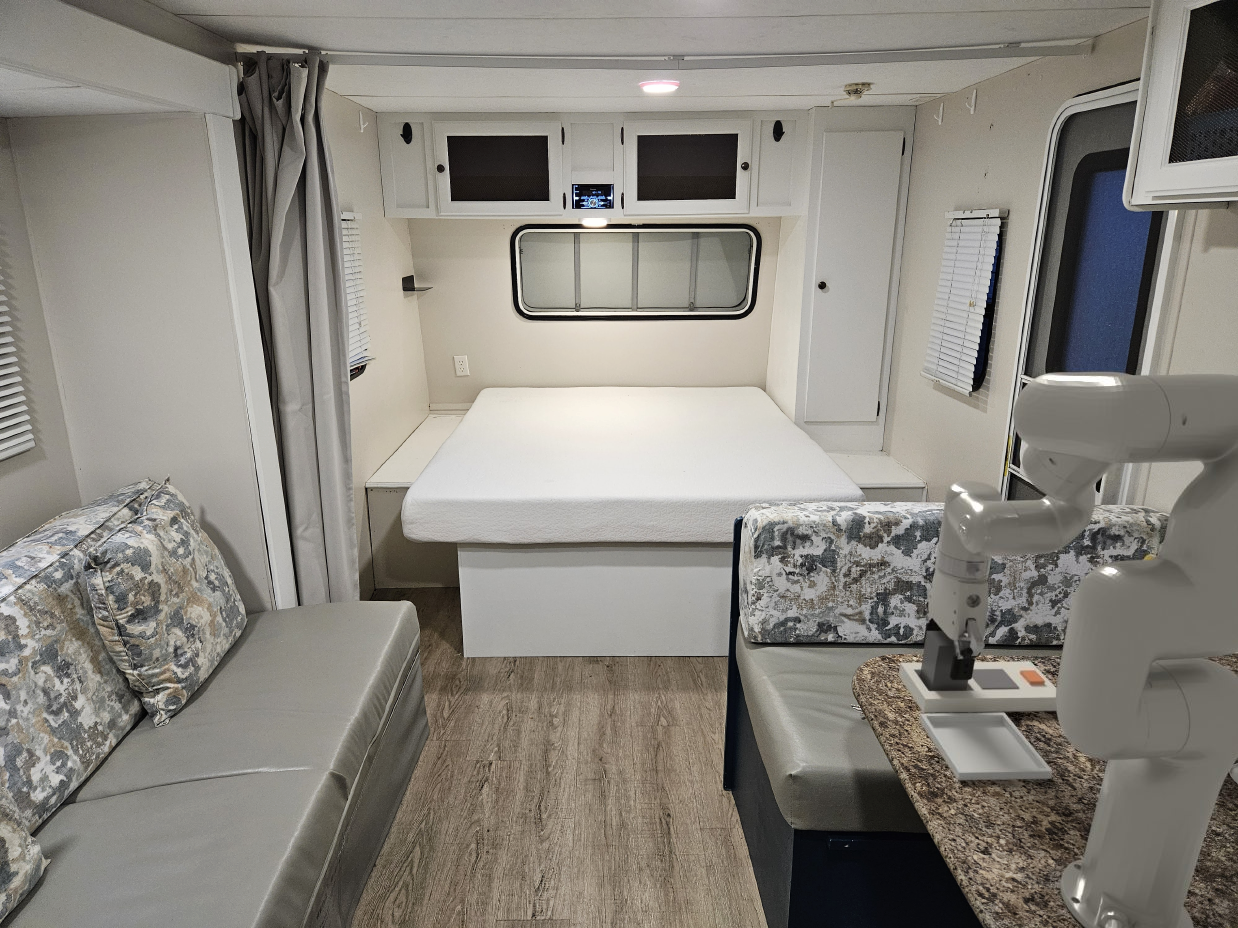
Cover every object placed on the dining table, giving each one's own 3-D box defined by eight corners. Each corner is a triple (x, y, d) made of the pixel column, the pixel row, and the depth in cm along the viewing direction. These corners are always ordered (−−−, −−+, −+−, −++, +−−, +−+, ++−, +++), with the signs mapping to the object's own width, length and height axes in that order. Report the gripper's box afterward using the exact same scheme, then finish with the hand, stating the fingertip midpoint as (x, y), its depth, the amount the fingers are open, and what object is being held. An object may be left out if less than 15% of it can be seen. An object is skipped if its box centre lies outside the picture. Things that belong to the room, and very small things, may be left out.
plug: (964, 700, 124) (974, 645, 121) (929, 701, 123) (938, 645, 120) (952, 684, 128) (961, 630, 125) (918, 685, 128) (926, 630, 125)
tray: (1050, 781, 107) (1052, 770, 107) (957, 783, 107) (959, 772, 106) (1002, 722, 120) (1004, 712, 119) (918, 723, 119) (920, 713, 118)
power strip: (1061, 713, 122) (1066, 693, 121) (922, 715, 121) (925, 695, 120) (1027, 676, 131) (1031, 658, 130) (898, 678, 130) (900, 659, 129)
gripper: (1016, 588, 111) (996, 693, 116) (960, 539, 127) (945, 632, 132) (964, 589, 110) (947, 693, 116) (915, 539, 127) (902, 633, 132)
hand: (946, 661), depth 124 cm, fingers open, 9 cm apart
